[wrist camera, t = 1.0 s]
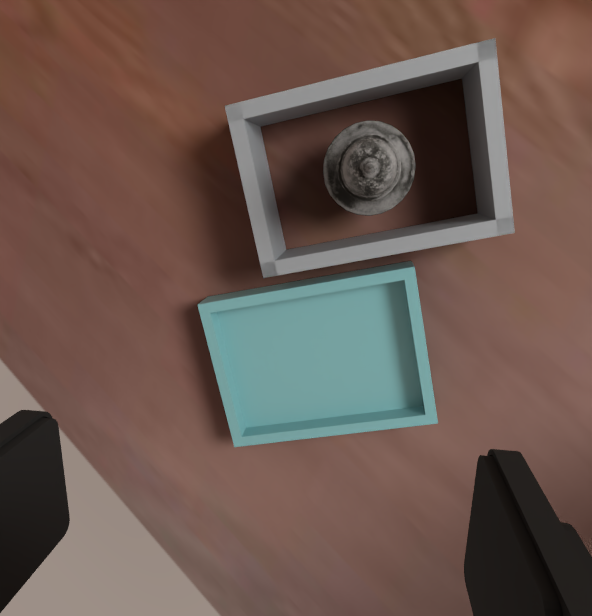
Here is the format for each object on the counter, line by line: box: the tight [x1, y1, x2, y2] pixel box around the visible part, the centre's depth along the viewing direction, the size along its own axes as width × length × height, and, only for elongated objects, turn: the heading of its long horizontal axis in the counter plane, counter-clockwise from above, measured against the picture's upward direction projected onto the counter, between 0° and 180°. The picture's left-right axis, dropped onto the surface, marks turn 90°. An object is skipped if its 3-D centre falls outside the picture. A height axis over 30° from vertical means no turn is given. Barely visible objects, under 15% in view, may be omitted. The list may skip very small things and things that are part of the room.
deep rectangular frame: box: [225, 38, 515, 278], centre depth 32 cm, size 16×11×5 cm
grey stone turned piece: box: [323, 121, 416, 216], centre depth 29 cm, size 6×6×12 cm
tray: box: [198, 261, 438, 447], centre depth 38 cm, size 16×12×2 cm
